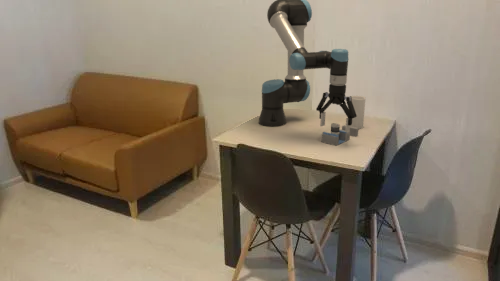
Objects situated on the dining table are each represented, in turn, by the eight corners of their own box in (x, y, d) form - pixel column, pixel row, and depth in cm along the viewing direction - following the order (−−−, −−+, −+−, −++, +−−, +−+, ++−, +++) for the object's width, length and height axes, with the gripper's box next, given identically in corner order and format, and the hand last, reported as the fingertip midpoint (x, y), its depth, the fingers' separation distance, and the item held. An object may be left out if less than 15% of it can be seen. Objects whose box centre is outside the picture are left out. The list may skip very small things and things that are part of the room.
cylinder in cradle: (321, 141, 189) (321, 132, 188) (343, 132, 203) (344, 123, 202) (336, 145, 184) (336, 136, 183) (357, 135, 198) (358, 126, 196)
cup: (363, 129, 208) (366, 99, 203) (347, 128, 210) (349, 98, 205) (362, 125, 216) (364, 95, 211) (346, 124, 217) (348, 95, 212)
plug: (328, 140, 190) (329, 124, 188) (333, 138, 193) (334, 122, 190) (335, 142, 187) (336, 126, 185) (340, 140, 190) (341, 124, 188)
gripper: (310, 81, 187) (308, 125, 194) (358, 89, 171) (354, 136, 178) (319, 79, 192) (317, 121, 199) (366, 86, 176) (362, 132, 183)
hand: (334, 128), depth 189 cm, fingers open, 13 cm apart
